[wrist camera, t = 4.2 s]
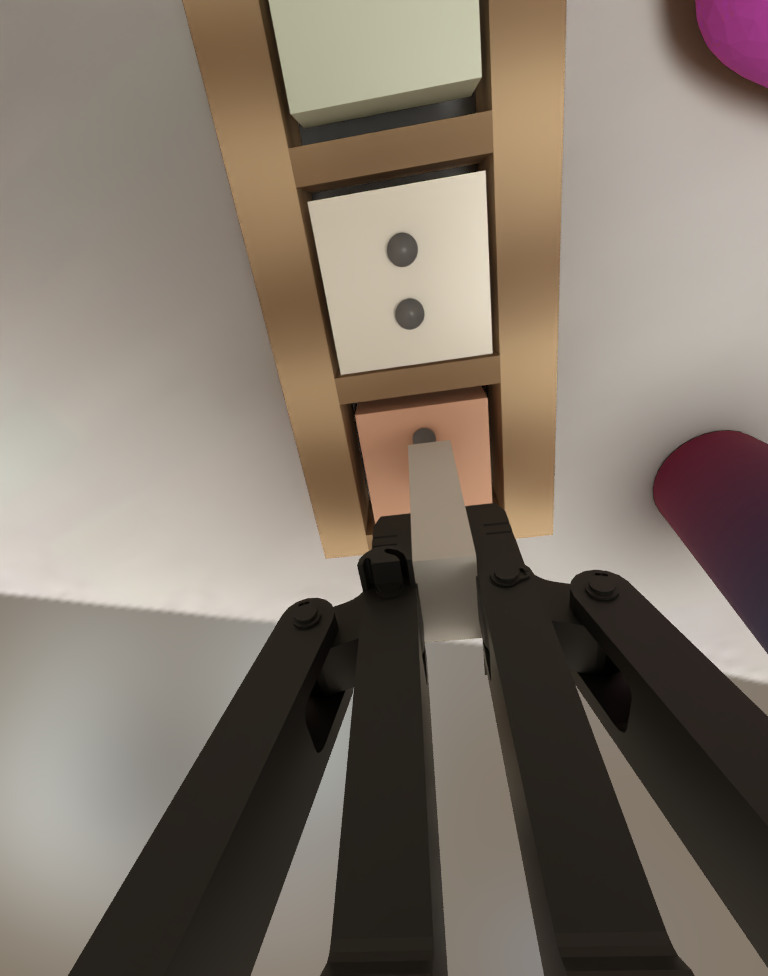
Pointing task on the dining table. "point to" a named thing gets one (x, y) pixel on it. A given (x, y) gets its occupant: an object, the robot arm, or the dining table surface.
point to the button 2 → (406, 272)
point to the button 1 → (375, 55)
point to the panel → (382, 156)
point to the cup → (723, 516)
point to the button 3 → (424, 421)
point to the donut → (737, 35)
